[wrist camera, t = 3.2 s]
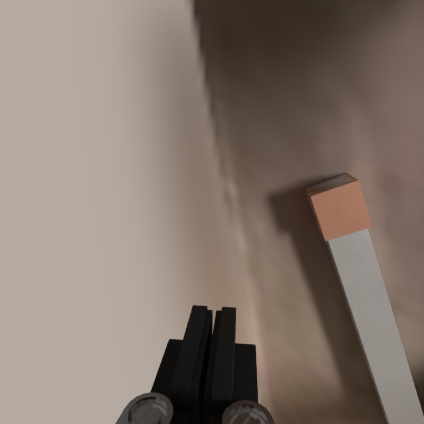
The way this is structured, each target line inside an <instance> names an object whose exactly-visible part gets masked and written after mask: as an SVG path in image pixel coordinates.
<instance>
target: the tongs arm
mask: <svg viewBox="0 0 424 424" xmlns="http://www.w3.org/2000/svg"><path fill="white" fill-rule="evenodd" d="M304 189H305V192H306V195H307V198H308V201H309V204H310V207H311V210H312V213H313V216H314V219H315V222H316V225H317V228H318V230H319V231H320V233H321V235H322V236H323V238H324V240H325V242H326V245H327V248H328V251H329V254H330V257H331V260H332V263H333V266H334V269H335V272H336V275H337V278H338V281H339V284H340V287H341V290H342V293H343V296H344V299H345V301H346V304H347V307H348V310H349V313H350V316H351V319H352V322H353V325H354V328H355V331H356V334H357V337H358V340H359V343H360V346H361V349H362V352H363V355H364V358H365V361H366V364H367V367H368V370H369V373H370V376H371V379H372V382H373V385H374V388H375V391H376V394H377V397H378V400H379V403H380V406H381V409H382V412H383V415H384V418H385V421H386V423H387V424H424V416H423V412H422V409H421V406H420V402H419V399H418V395H417V392H416V389H415V385H414V382H413V379H412V375H411V372H410V369H409V365H408V362H407V359H406V355H405V352H404V349H403V345H402V342H401V339H400V335H399V332H398V328H397V325H396V322H395V318H394V315H393V312H392V308H391V305H390V302H389V298H388V295H387V292H386V288H385V285H384V282H383V278H382V275H381V272H380V268H379V265H378V262H377V258H376V255H375V251H374V248H373V245H372V241H371V238H370V235H369V231H368V228H370V227H372V223H371V220H370V216H369V213H368V210H367V206H366V203H365V199H364V196H363V193H362V189H361V186H360V182H359V180H358V179H356V178H355V177H353V176H351V175H349V174H348V173H345V174H343V175H340V176H337V177H334V178H331V179H328V180H326V181H323V182H320V183H317V184H314V185H311V186H309V187H306V188H304Z"/></svg>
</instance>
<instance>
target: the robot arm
mask: <svg viewBox="0 0 424 424" xmlns="http://www.w3.org/2000/svg"><path fill="white" fill-rule="evenodd" d="M235 329H236V308H233V307H232V308H231V307H222V311H216V317H215V323H214V330H213V336H212V310H207V306H196V305H193V307H192V311H191V314H190V317H189V321H188V324H187V328H186V331H185V335H184V339H183V340H177V339H170V340H169V342H168V344H167V347H166V350H165V353H164V355H163V358H162V361H161V364H160V367H159V369H158V372H157V375H156V378H155V381H154V384H153V387H152V389H151V392H150V393H145V394H142V395H140V396H137V397H136V398H134V399H133V400H132V401H130V402H129V404H128V405H127V406H126V407H125V409H124V410H123V412H122V414H121V415H120V417H119V419H118V420H117V422H116V424H274V421H273V418H272V416H271V414H270V413H269V411H268V410H267V409H266V408H265V407H263V406H262V405H261V404H259V403H258V388H257V367H256V346H255V345H252V344H237V343H235Z"/></svg>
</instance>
